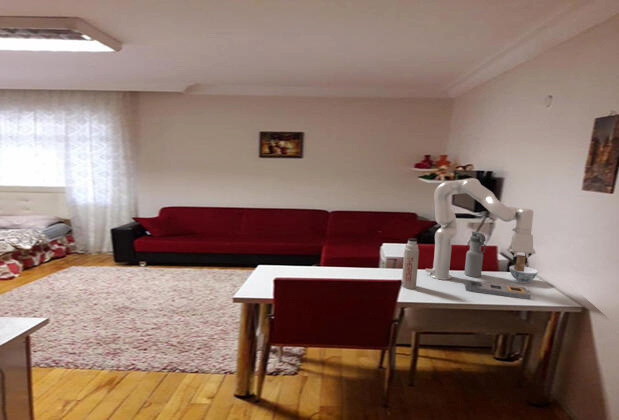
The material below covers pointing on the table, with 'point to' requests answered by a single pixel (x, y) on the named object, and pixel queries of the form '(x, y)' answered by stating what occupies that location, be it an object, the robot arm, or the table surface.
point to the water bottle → (475, 255)
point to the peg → (520, 263)
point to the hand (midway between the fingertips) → (519, 263)
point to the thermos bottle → (410, 264)
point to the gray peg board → (497, 289)
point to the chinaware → (523, 274)
